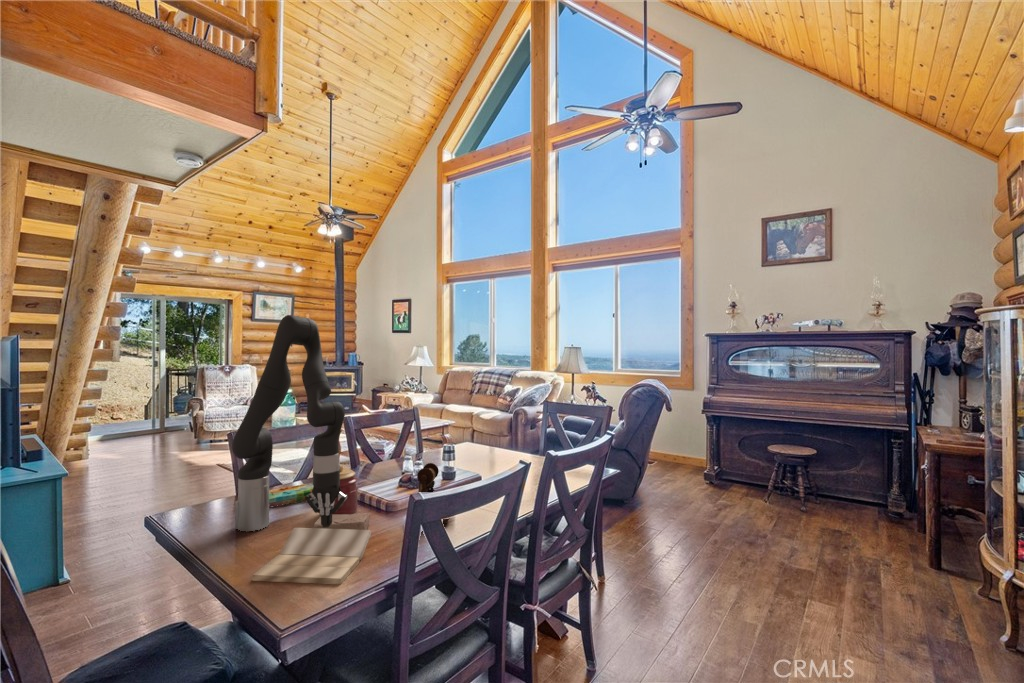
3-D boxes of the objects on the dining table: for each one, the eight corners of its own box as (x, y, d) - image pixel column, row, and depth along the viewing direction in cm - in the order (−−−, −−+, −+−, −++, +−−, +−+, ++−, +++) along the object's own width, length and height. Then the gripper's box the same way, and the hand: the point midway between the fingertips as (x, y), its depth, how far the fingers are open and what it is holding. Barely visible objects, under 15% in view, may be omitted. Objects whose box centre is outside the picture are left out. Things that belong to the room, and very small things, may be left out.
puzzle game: (262, 489, 185) (315, 480, 198) (262, 501, 185) (315, 491, 198) (268, 497, 176) (323, 487, 188) (268, 509, 176) (323, 498, 188)
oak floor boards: (252, 580, 123) (252, 574, 123) (278, 559, 135) (278, 554, 135) (340, 584, 121) (340, 578, 121) (359, 562, 133) (359, 557, 133)
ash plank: (280, 557, 136) (279, 553, 136) (295, 530, 144) (294, 527, 143) (360, 560, 134) (359, 556, 134) (371, 533, 142) (370, 530, 141)
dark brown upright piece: (413, 514, 170) (413, 459, 170) (453, 516, 169) (453, 460, 169) (400, 531, 156) (400, 470, 156) (443, 532, 154) (443, 472, 154)
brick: (312, 537, 151) (312, 522, 151) (320, 527, 160) (320, 513, 160) (364, 535, 153) (364, 521, 153) (370, 525, 161) (370, 511, 161)
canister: (362, 514, 170) (362, 466, 170) (324, 522, 163) (324, 471, 163) (352, 504, 181) (352, 458, 181) (316, 511, 174) (316, 463, 174)
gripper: (298, 471, 138) (298, 531, 138) (342, 472, 137) (342, 532, 137) (311, 465, 145) (311, 521, 145) (352, 465, 144) (353, 522, 144)
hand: (326, 526), depth 141 cm, fingers closed
